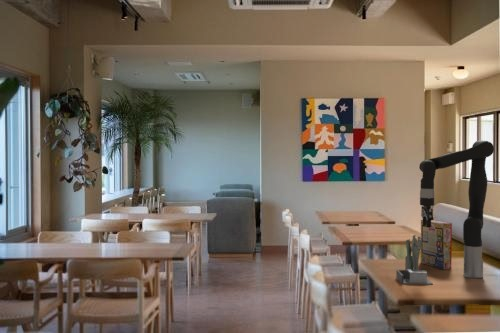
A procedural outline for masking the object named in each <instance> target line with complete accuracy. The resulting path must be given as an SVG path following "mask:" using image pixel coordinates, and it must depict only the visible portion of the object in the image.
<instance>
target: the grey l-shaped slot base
mask: <svg viewBox="0 0 500 333" xmlns="http://www.w3.org/2000/svg"><path fill="white" fill-rule="evenodd" d="M412 271H413V272H427V273H428V271H427V269H426V270H424V269H422V270H421V269H418V270H414V269H413V270H412ZM395 274H396V275H395V278H396V281H397V280H398V282H399V284H401V285H419V284H420V285H422V286H423V285H428V286H429V285H433V282H432V281H430V280H429V279H428V278H427V282H409V281H408V280H407V270H405V269H396V270H395Z"/></svg>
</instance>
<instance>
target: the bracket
mask: <svg viewBox="0 0 500 333" xmlns="http://www.w3.org/2000/svg"><path fill="white" fill-rule="evenodd" d="M404 243H405V249H406V255H405V257H404V258H405V262H404V263H405V264H404V266H405V267H404V268H405V269H404V270H407V269H411V270H419V259H420V254H421V243H422V240H421V236H417V238H416V234H414V235H412V240H410V238H408V239H407V240H405V242H404Z"/></svg>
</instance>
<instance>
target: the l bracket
mask: <svg viewBox="0 0 500 333" xmlns="http://www.w3.org/2000/svg"><path fill="white" fill-rule="evenodd" d="M427 279H428V271H427V272H413V271H412V270H411V269H407V280H408V281H409V282H427Z"/></svg>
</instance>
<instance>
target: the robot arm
mask: <svg viewBox="0 0 500 333" xmlns="http://www.w3.org/2000/svg"><path fill="white" fill-rule="evenodd" d="M494 151H495V147H494V145H493V143H492V142H491V141H488V140H483V139H482V140H481V139H480V140H476V141H475V142H474V143H473V144H472V146H471V147H469V148H466V149H463V150H462V149H461V150H458V151H453V152H449V153H445V154H442V155H439V156H436V157H433V158H429V159H428V158H427V159H425V160H422V161H421V162H420V163H419V168H418V169H419V170H420V171H421V172H422V176H421V177H422V178H421V179H420V191H419V205H420V206H421V210H420V211H421V213H420V216H421V218H422V220H423V225H427V227H431V220H433V221H434V214H433V212H434V210H433V208H432V207H434V205H435V177H436V172H437V171H436V170H441V169H445V168H450V167H452V166H456V165H458V164H461V163H464V162H468V161H471V167H470V174H469V183H468V191H467V192H468V203H469V209H468V214H467V218H465V219H464V222H463V225H462V226H463V228H462V231H463V232H462V236H463V239H462V240H463V276H464V277H465V278H469V279H481V278H482V279H483V278H484V260H483V241H482V230H483V227H484V207H485V202H486V197H487V189H488V177H487V176H488V175H487V172H486V160H487V158H489V157H491V156H492V155H493V153H494Z"/></svg>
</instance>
